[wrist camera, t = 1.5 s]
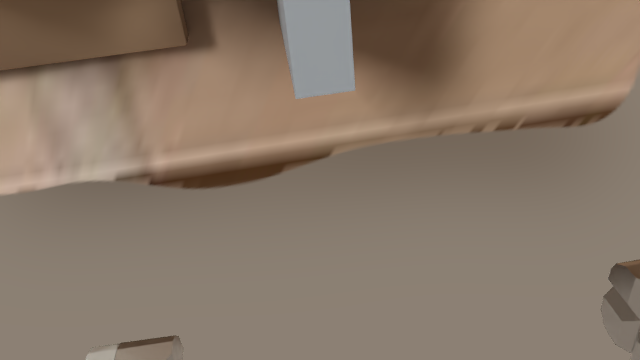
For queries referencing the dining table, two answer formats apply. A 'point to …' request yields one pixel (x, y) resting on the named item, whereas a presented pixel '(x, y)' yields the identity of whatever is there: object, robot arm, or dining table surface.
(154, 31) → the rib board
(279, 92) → the dining table surface
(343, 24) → the slotted plate
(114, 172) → the dining table surface
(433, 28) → the dining table surface
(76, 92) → the dining table surface
